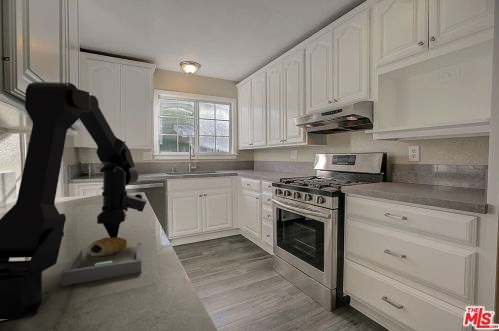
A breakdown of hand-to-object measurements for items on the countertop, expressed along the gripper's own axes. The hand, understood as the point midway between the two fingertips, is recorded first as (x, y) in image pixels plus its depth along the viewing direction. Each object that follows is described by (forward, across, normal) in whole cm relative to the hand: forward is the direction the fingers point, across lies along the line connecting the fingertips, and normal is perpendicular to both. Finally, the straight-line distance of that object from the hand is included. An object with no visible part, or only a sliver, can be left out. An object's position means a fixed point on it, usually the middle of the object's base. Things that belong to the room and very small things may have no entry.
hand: (114, 241), depth 69 cm
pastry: (+1, -6, +1) cm, 6 cm away
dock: (+1, -16, 0) cm, 16 cm away
